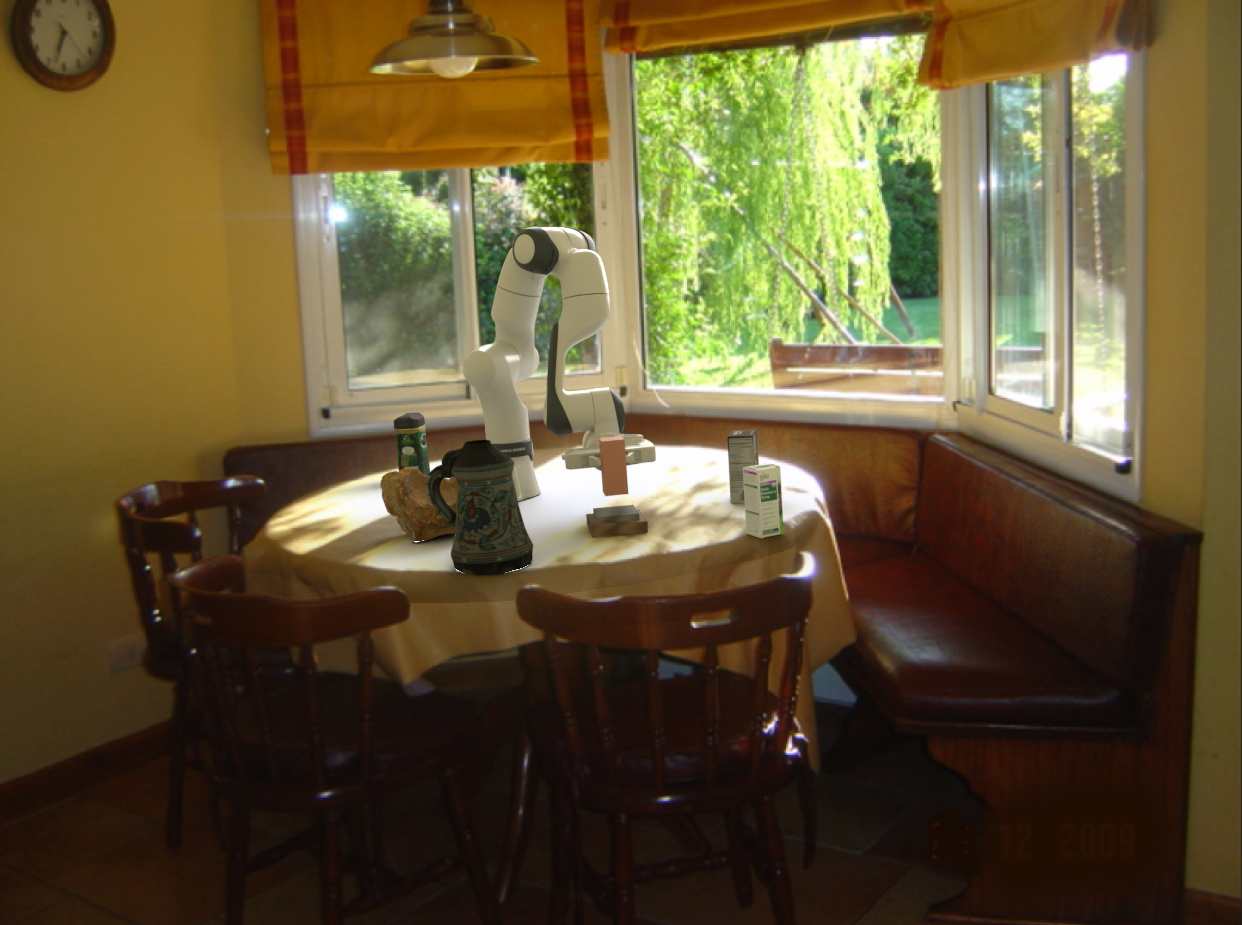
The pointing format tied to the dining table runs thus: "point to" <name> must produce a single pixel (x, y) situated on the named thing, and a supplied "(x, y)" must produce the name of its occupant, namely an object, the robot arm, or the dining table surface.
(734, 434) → the coffee box
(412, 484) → the rough brown rock
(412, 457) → the coffee jar
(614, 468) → the carton
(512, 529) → the beer stein
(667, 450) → the dining table surface
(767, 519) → the syrup box
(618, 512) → the podium
